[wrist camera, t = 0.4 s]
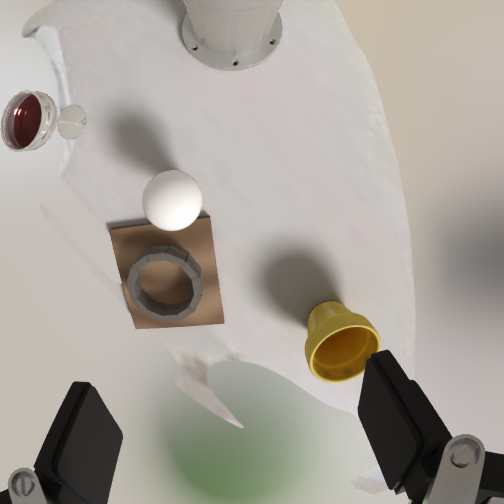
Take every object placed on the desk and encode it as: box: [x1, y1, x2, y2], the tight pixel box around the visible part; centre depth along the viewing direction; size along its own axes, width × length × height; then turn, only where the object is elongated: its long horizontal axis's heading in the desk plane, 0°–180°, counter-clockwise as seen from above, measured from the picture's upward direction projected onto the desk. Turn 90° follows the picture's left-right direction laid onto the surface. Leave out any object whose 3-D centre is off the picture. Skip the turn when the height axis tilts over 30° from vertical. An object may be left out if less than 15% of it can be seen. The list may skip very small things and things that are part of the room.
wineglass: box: [1, 90, 86, 152], centre depth 27 cm, size 7×7×12 cm
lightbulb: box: [142, 170, 203, 231], centre depth 32 cm, size 6×6×11 cm
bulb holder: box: [109, 216, 224, 329], centre depth 40 cm, size 16×14×4 cm
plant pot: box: [305, 301, 381, 383], centre depth 42 cm, size 10×10×10 cm
